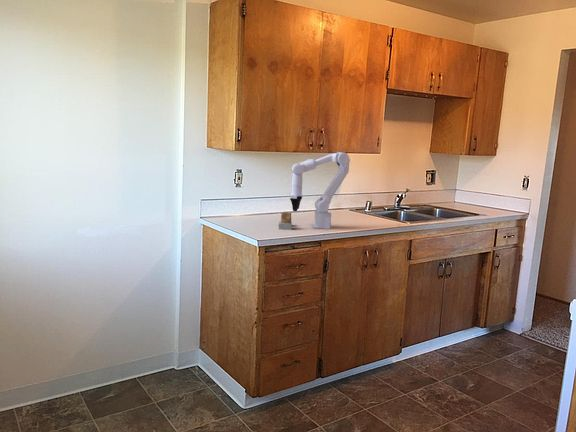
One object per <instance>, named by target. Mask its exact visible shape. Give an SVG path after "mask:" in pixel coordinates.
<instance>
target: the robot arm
mask: <svg viewBox="0 0 576 432" xmlns="http://www.w3.org/2000/svg"><path fill="white" fill-rule="evenodd" d="M329 162H333V163H335V164H336V165H337V168H338V171H337V173H336V174H335V175H334V178H333V179H332V180H331V182H330V184H329V185H328V186H327V188H326V190H325V192H323V194H322V195H321V196H320V197H319V198H318V199H316V200H315V202H314V207H315V210H314V222H313V223H314V224H313V226H312V228H313V229H314V228H315V229H324V230H331V226H332V212H329V211H328V210H329V207H330V204H331V202H332V198H333V197H334V196H335V193H336V192H337V191H338V189H339V188H340V186H341V184H342V183H343V181H344V179H346V177H347V175H348V174H349V171H350V162H351V159H350V157H349V155H348V154H347V153H346V152H342V151H337V152H334V153H330V154H327V155H324V156H322V157H319V158H317V159H313V158H308V159H307V160H304V161H299V163H294V164H293V165H292V167H291V172H292V173H291V174H292V177H291V192H290V193H288V194H289V195H291V196H292V197H290V198H289V200H290V202H291V206H292V207H291V208H292V211H293V212H297V211H298V210H299V209H300V204H301V201H302V199H303V174H304V173H306V172H309V171H312V170H315V169H316V168H317V166H319V165H322V164H327V163H329Z"/></svg>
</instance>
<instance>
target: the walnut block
mask: <svg viewBox="0 0 576 432" xmlns="http://www.w3.org/2000/svg"><path fill="white" fill-rule="evenodd" d="M280 214H281V215H280V221H281V223H288V224H289V223H290V222H292V212H291V211H290V212H289V211H283V212H281V213H280Z"/></svg>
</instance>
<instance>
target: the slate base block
mask: <svg viewBox="0 0 576 432" xmlns="http://www.w3.org/2000/svg"><path fill="white" fill-rule="evenodd" d="M292 224H293V221H291V222H290V223H289V224H288V223H281V220H280V221H278V230H285V231H292V229H293V228H292Z"/></svg>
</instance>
